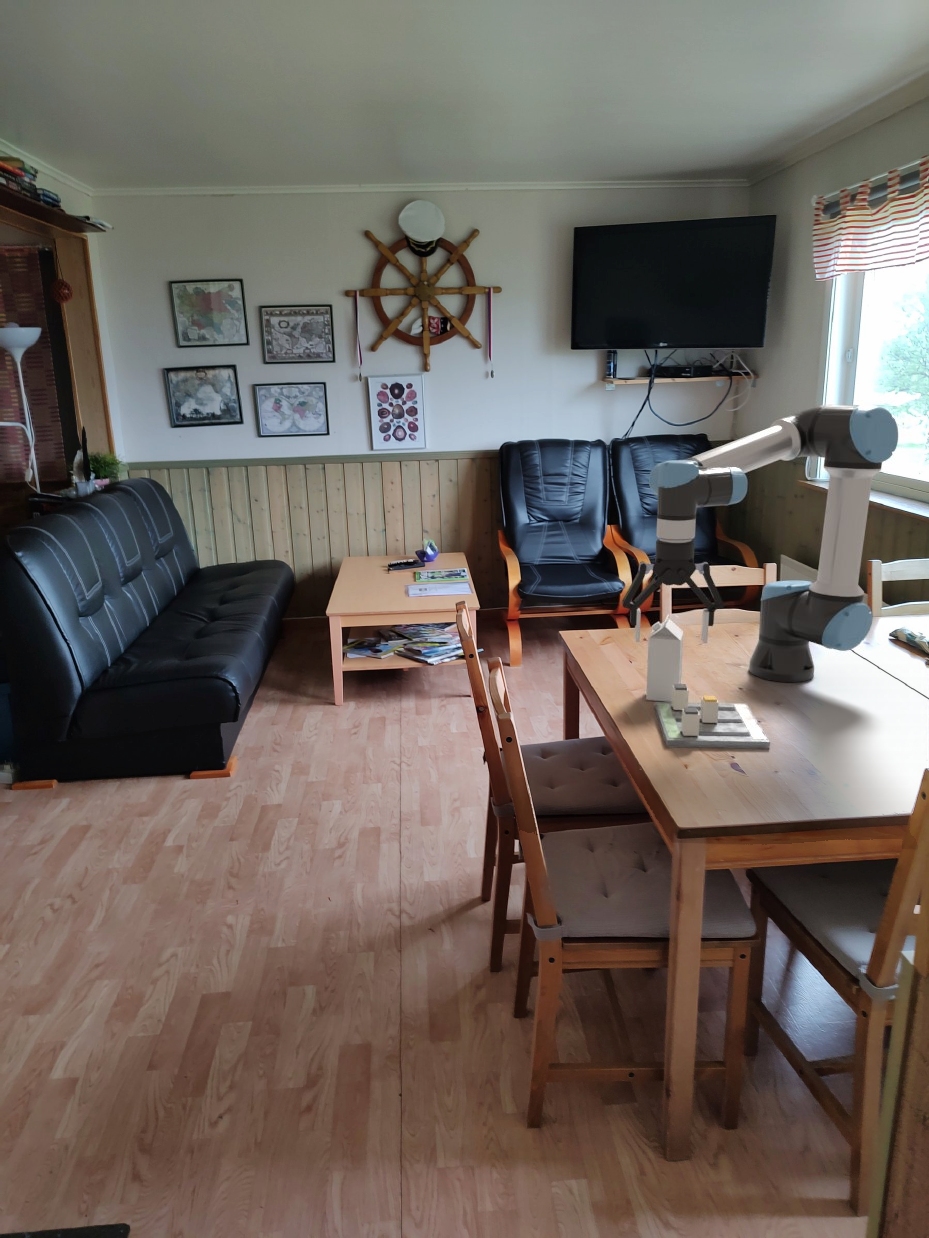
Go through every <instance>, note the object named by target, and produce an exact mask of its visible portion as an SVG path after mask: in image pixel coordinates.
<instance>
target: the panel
mask: <svg viewBox="0 0 929 1238" xmlns="http://www.w3.org/2000/svg"><path fill="white" fill-rule="evenodd" d="M688 707H689V708H697V710H698V712H699V714H701V702H688ZM654 712H655V715H656V717H657V721H658V725H659V727H660V730H661V734H662V736H663V739H664V743H665V746H666V748H694V749H695V748H699V749H700V748H703V749H705V748H706V749H710V748H711V749H748V750H749V749H752V750H753V749H756V750H759V749H761V750H765V749H766V750H770V748H771V747H770V745H771V741H770V740H769V738H768V736H767V735H766V733H765V731H764V729H763V727H762V726H761V725H760V723H759V721H758V720H757V718H756V717H755V715H754V714H753V712H752V710H751V709H750V706H748V703H747V702H746V703H745V702H741V703H739V702H734V703H733V702H730V703H729V702H719V706H718V722H717V723H703V722H702V720H701V718H700V720H699V736H683V733H682V730H681V724H682V710H674V709H673V707H672V702H664V701H654Z"/></svg>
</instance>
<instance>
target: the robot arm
mask: <svg viewBox="0 0 929 1238" xmlns="http://www.w3.org/2000/svg"><path fill="white" fill-rule="evenodd" d="M896 421H897V420H896V419H895V417H893V415H892V413H891V412H890V411H889V410H887V409H886V408H884V407H883V406H879V405H878V406H877V405H876V406H875V405H870V404H848V405H847V404H821V405H818V406H813V407H809V408H806V409H804V410H800V411H797V412H795V413H792V414H790V415H787V416H784V417H782V418H779V419H777V420H774V421H773V422H772V423H771V424H770V426H769V427H768V428H765V429H763V430H761V431H760V430H759V431H757V432H754V433H752V434H749V435H746V436H744V437H741V438H738V439H736V440H734V441H731V442H728V443H726V444H724V445H721V446H718V447H715V448H713V449H710V450H707V451H705V452H702V453H700V454H697V455H694V456H690V457H688V458H685V459H678V460H677V459H676V460H675V459H674V460H672V459H671V460H666V461H663V462H659V463H658V464H657V463H656V465H655V466H654V467H652V469H651V471H650V472H649V476H648V484H649V485H648V486H649V488H650V490H651V492H652V493H653V495H656V496H657V508H656V509H657V511H656V514H657V515H656V516H657V517H656V520H657V521H656V534H655V536H656V537H657V540H656V541H655V558H654V562H653V563H647V562H645V561H640V562H639V564H638V569H637V574H636V575H635V577H634V579H633V580H632V583H631V585H630V586H629V587H628V589H627V591H626V593H625V595H624V596H623V598H622V600H621V606H622V607H623V608H624V609H628V610H630V615H629V616H630V617H629V622H630V625H631V626H634V640H635V643H641V642H640V641H641V615H642V614H641V613H642V612H641V609H640V607H641V606H642V605H643V604H644V603H645V602H646V601H647V600H648V599H649V598H650V596H651V595H652V594H653V593H654V592H655V591H656V590H657V589H658V588H659V587H660V586H661V585H662V584H663V585H665V586H673V585H676V586H683V585H684V584H687V586H688V587H689V588H690V589H691V591H693V593H694V594H695V595H696V596H697V597H698V599H699V600H700V602H701V603H702V604H703V605H704V606H705V607H706V608H703V609H702V621H701V623H702V625H701V639H700V640H701V641H702V643H703V644H708V639H709V637H708V635H709V627H713V626H714V623H715V622H714V621H715V612H716V610H719V609H723V608H725V604H724V602H723V600H722V597H721V594H720V593H719V590H718V589H717V586H716V584H715V582H714V580H713V578H712V576H711V567H710V565H709V563H708V562H707V561H703V562H701V563H695V559H694V556H695V540H694V538H695V537H696V521H697V520H696V519H697V510H698V509H699V508H705V507H706V508H707V507H716V506H717V507H719V506H726V507H727V506H729V505H734V504H737V503H740V502H741V501H743V500H744V498H745V497H746V495H747V492H748V484H749V483H748V478H747V475H746V473H748V472H751V471H753V470H756V469H758V468H762V467H763V466H766V465H769V464H772V463H774V462H776V461H779V460H782V461H784V462H785V461H788V462H789V461H792V460H794V459H796V458H801V457H802V458H803V457H814V458H815V457H816V458H824V461H823V468H824V470H825V471H826V472H827V473H828V475H829V481H828V487H827V488H828V489H827V497H826V505H825V512H824V520H823V521H824V522H823V529H822V535H821V536H822V537H821V546H820V552H819V553H820V554H819V562H818V563H819V564H818V568H817V569H818V571H817V576H816V577H817V578H816V581H815V582H812V581H809V580H808V581H807V580H779V581H778V580H777V581H773V582H772V581H771V582H767V583H766V584H765V585H764V586H763V588H762V591H761V593H762V594H761V598H760V612H759V628H758V629H759V631H758V640H757V643H756V646H755V649H754V651H753V653H752V655H751V656H750V659H749V668H748V670H749V673H750V674H752V675H753V676H755V677H758V678H760V679H763V680H767V681H772V682H781V683H798V682H806V681H809V680H811V679H813V677H814V674H815V664H814V661H813V657H812V656H813V655H812V653H811V648H810V643H813V644H816V645H819V646H822V647H824V648H826V649H829V650H836V651H840V652H847V651H851V650H853V649H854V648H856V647H858V646H859V645H860V644H861V643H862V642H863V641H864V640H865V639H866V638H867V635H869V632H870V630H871V628H872V625H873V617H874V616H873V611H871V607H870V606H869V605H867V604H866V603H865V602H864V596H865V591H864V590H863V589H862V588H861V586H860V585H859V578H860V571H861V563H862V556H863V547H864V541H865V533H866V526H867V518H868V514H869V506H870V505H869V504H870V497H871V489H872V482H873V478H874V476H875V475H876V474H878V473H879V472H881V471H882V465H883V463H884V462H886V461H887V460H889V459H890V458H892V456H893V453H894V452H895V451H896V449H897V447H898V442H899V428H898V424H897V422H896ZM697 508H698V509H697ZM650 571H653V572H654V574H655V576H654V577H653V578H652V580H651V581H650V582H649V583H648V585H647V586H646V587H645V588H644V589H643V590H642V591H641V592H640V593H639V594H638V596H637V597H635V595H636V594H637V591H638V589H639V588H640V586H641V584H642V582H643V581H644V578H645V577H646V575H648V574H649V573H650ZM696 571H698V572H699V574H700V575H702V576H703V579H704V580H705V583H706V585H707V588H708V590H709V591H710V594H711V596H712V598H713V599H714V602H711V600H710V599H709V598H708V597H707V595H705V593H704V592H703V590H701V588H700V587H699V585H697V584H696V582H695V581H694V580H693V579H692V578H691V577H692V576H693V574H694V573H695V572H696ZM634 597H635V598H634ZM633 599H634V600H633Z"/></svg>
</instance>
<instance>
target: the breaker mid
mask: <svg viewBox="0 0 929 1238" xmlns="http://www.w3.org/2000/svg"><path fill="white" fill-rule="evenodd" d="M700 703H701V714H700V718H701V720H702V722H703V723H717V722H718V706H719V703H720V701H719V700H718V699H717V697H716V695H702V696H701V698H700Z"/></svg>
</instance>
